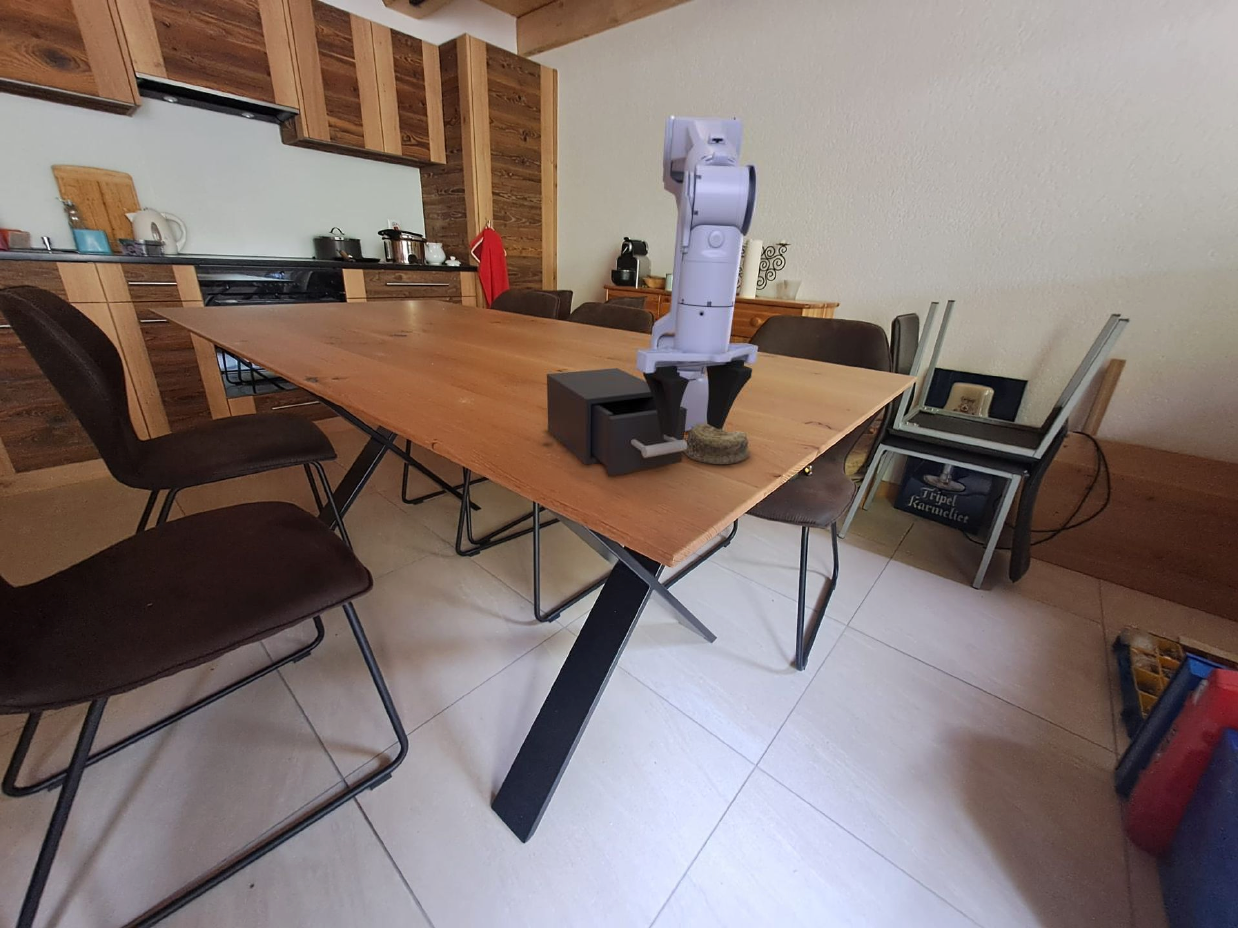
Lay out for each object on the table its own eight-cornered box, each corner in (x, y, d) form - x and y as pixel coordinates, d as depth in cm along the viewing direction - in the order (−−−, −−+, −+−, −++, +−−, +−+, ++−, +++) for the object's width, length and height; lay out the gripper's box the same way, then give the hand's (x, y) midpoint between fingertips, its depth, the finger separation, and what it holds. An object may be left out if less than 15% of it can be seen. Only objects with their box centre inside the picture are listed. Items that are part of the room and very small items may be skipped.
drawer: (700, 474, 63) (707, 418, 59) (626, 490, 58) (629, 430, 54) (633, 431, 77) (635, 384, 74) (568, 441, 72) (568, 391, 68)
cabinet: (660, 451, 72) (665, 390, 68) (585, 465, 66) (586, 399, 62) (615, 421, 83) (617, 368, 79) (547, 431, 78) (546, 373, 74)
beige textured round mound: (728, 475, 66) (731, 440, 64) (670, 456, 72) (671, 423, 69) (760, 450, 73) (764, 418, 70) (704, 434, 79) (706, 404, 76)
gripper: (668, 310, 41) (657, 452, 47) (786, 307, 48) (764, 432, 53) (628, 301, 47) (622, 429, 52) (739, 300, 53) (723, 414, 59)
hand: (691, 430), depth 53 cm, fingers open, 6 cm apart
